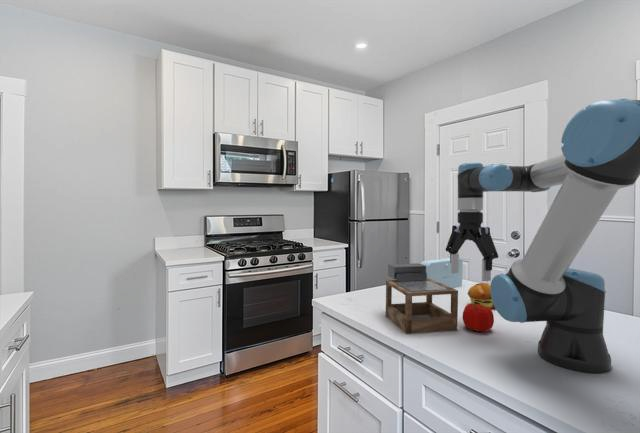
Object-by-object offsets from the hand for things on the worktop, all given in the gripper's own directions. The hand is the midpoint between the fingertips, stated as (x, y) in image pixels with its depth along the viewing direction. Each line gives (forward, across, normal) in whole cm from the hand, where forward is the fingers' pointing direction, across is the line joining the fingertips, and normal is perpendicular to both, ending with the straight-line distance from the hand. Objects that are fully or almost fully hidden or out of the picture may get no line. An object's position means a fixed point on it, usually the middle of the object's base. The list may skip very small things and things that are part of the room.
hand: (469, 276), depth 111 cm
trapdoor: (+4, +11, +13) cm, 17 cm away
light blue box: (+15, +43, -24) cm, 51 cm away
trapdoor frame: (+16, +8, +14) cm, 22 cm away
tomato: (+16, -3, 0) cm, 17 cm away
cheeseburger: (+16, +15, -21) cm, 30 cm away
